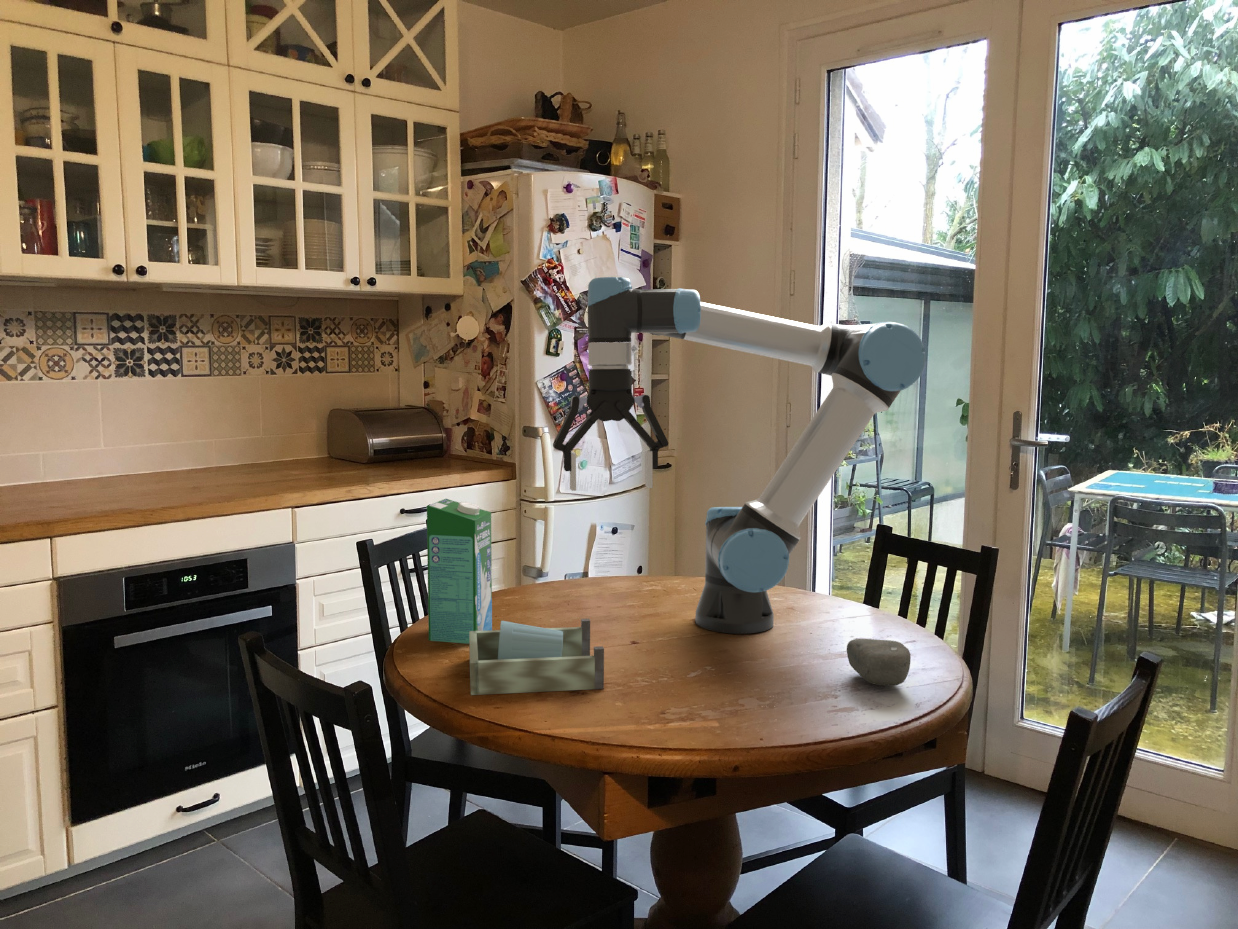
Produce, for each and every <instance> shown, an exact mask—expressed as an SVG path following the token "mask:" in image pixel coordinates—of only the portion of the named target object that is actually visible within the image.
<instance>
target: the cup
mask: <svg viewBox="0 0 1238 929" xmlns="http://www.w3.org/2000/svg"><path fill="white" fill-rule="evenodd" d="M499 625H500V626H499V630H500V636H499V649H498V660H502V659H525V658H548V657H562V647H563V631H559V630H553V629H547V628H548V627H541V626H540V627H539V626H535V625H530V624H529V625H528V624H523V623H517V622H512V621H508V620H507V621H506V620H501V621H500V624H499Z"/></svg>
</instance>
